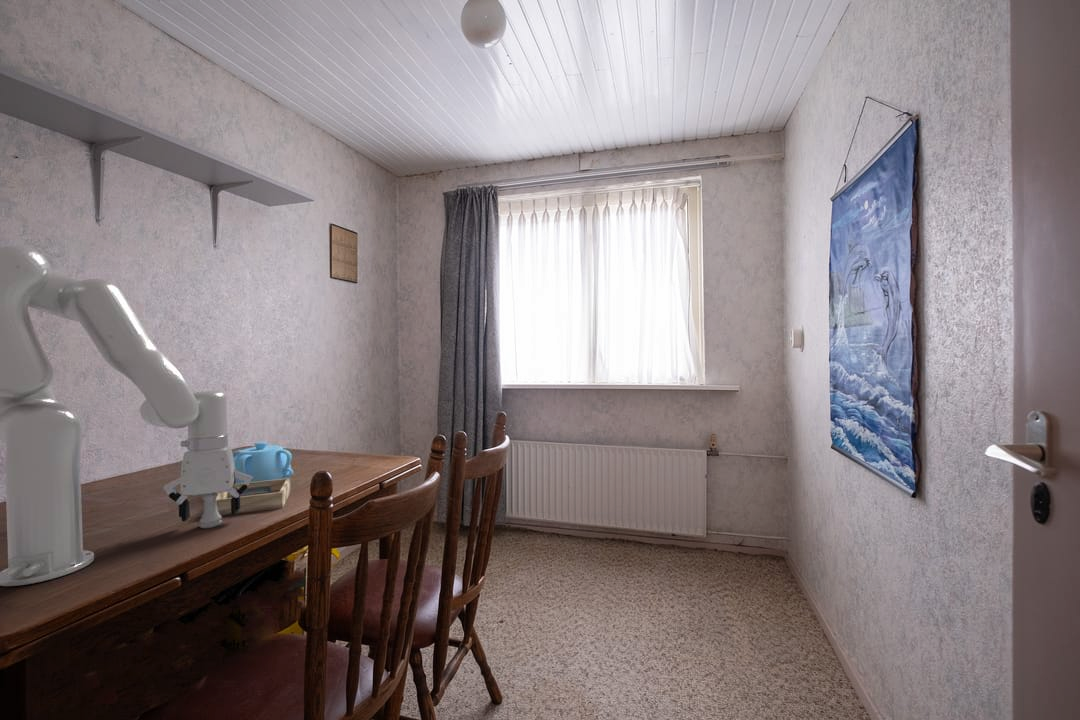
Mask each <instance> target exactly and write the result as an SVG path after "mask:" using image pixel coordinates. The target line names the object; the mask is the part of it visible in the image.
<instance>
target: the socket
mask: <svg viewBox="0 0 1080 720" xmlns="http://www.w3.org/2000/svg"><path fill="white" fill-rule="evenodd" d="M268 493H272V490H271V485H265V486H256V487H248V488H247V489H246V490H245V491H244V492H243V493H242V494H241V495H240V497H242V496H250V495H259V494H268Z"/></svg>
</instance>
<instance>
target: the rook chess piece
mask: <svg viewBox="0 0 1080 720" xmlns="http://www.w3.org/2000/svg"><path fill="white" fill-rule="evenodd" d="M217 496H218V493H213V494H204V495H201V499H202V500H203V502H202V504H203V511H202V515H201V517H200V519H199V521H198V522H199V525H198V526H199V527H200V528H201V529H212V528H215V527H218V526H220V525H221V524H222V523H223V520H222V518H223V516H221V515H219V513H218V510H217V504H216V502H217V500H216V497H217Z"/></svg>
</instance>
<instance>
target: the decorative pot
mask: <svg viewBox="0 0 1080 720" xmlns="http://www.w3.org/2000/svg"><path fill="white" fill-rule="evenodd" d="M232 453H233V458H234V464H235V470H236V471H239V472H242V473H245V474H248V475H251V476H252V477H253V478H252V480H251V482H257V481H267V480H276V479H285V478H291V477H292V476H293V475H294V470H293V469H292V467H291V466H292V465H291V462H292V460H293V459H292V458H293V455H292V453H291V451H289V450H287V449H284V448H283V447H282V446H281V445H277V444H276V445H275V444H274V445H268V441H257V442H255V443H254V446H253V447H248V448H245V449H239V450H236V451H234V452H232ZM239 483H244V480H242V479H238V478H236V484H239Z"/></svg>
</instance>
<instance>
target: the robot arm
mask: <svg viewBox="0 0 1080 720" xmlns="http://www.w3.org/2000/svg"><path fill="white" fill-rule="evenodd" d="M29 308H31V309H35V310H38V311H41V312H44V313H46V314H49V315H52V316H56V317H59V318H62V319H66V320H70V321H74V322H79V323H80V325H81V327H82V328H83V329H84V330H85V331H86V334H87V335H88V337H89V338H90V340H91V341H92V342H93V344H94V346H95V348H96V349H97V350H98V352H99V354H100V355H101V356H102V359H104V361H105V362H106V363H108V364H109V366H111V367H112V368H113V369H114V370H116V371H117V372H119V373H120V374H122V375H124V376H125V377H126V378H128V379H129V380H130V381H131V382H132V383H133V384H134V385H135V386H136V387H137V388H138V390H139V391H140V392H141V393H142V394H143V396H144V397H145V398H146V399H145V400H144V401H143V402H142V404H141V405H140V409H139V413H140V417H141V418H142V419H143V421H144V422H146V423H147V424H149V425H151V426H154V427H160V428H166V429H175V430H176V429H177V430H179V429H183V428H186V427H187V438H186V440H181V441H180V447H182V448H183V447H184V448H187V451H185V452H183V456H182V461H181V467H180V468H181V470H180V477H178V478H177V479H175V480H172V481H170V482H169V483H167V484H165V485H164V486H163V487H162V488H163V490H164V492H165V493H166V494H167V496H168V498H170V500H172V501H173V502H175V503H176V505H178V517H179V518H181V522H182V523H183V522H186V521H187V520H188V519H189V518H190V516H191V514H190V513H191V511H190V510H191V509H190V508H191V507H190V501H189V500H188V498H189V497H193V496H195V497H196V496H202V495H204V494H213V493H221V492H226V491H228V492H229V493H230V494H231V495H232V498H231V515H232V516H235V515H237V514H236V513H237V512H238V510H240V495H241V494H242V493H243V492H244V491H245V490H246V489H247V488H248V486H249V484H250V482H251V480H252V478H253V477H252V476H251V475H248V474H245V473H242V472H239V471H236V470H235V464H234V458H233V453H234V452H233V450H232V447H231V446H229V445H228V442H229V441H228V439H229V438H228V414H227V413H228V412H227V409H228V407H227V405H228V404H227V396H226V393H225V392H224V391H220V390H207V391H195V392H193V390H191V388H190V385H188V382H187V381H186V380H185V378H184V377H183V375H182V374H181V372H180V371H179V370H178V369H177V368H176V366H175V365H174V364H173V363H172V362H171V360H170V359H168V357H167V356H166V355H165V353H163V352H162V351H161V350H160V349H159V348H158V346H157V345H156V344H155V342H154V341H153V339H152V338H151V337H150V335H149V333H148V332H147V330H146V329H145V327H144V325H143V324H142V322H141V320H140V318H139V317H138V315H137V313H136V312H135V310H134V308H133V307H132V306H131V304H130V303H129V301H128V299H127V298H126V295H124V293H123V292H122V290H121V289H120V288H119V287H118V286H117V285H116V284H115V283H113V282H111V281H109V280H105V279H102V278H101V279H100V278H88V279H83V280H80V279H76V278H74V277H71V276H67V275H65V274H63V273H60V272H58V271H54V270H52V267H51V265H50V262H49V261H48V260H47V258H46V257H45V256H44V255H43V254H42V253H40V252H38V251H37V250H35V249H33V248H31V247H27V246H24V245H19V244H17V245H16V244H11V245H2V246H0V440H1V441H2V442H4V443H5V468H4V469H5V470H4V479H5V480H4V482H5V485H4V486H5V487H4V488H5V502H6V503H5V506H6V532H7V536H6V537H7V560H8V564H7V565H8V567H7V568H5V569H3V570H2V571H0V587H1V586H2V587H16V586H18V587H19V586H25V585H26V586H27V585H31V584H36V583H41V582H45V581H49V580H54V579H57V578H60V577H62V576H66V575H68V574H71V573H74V572H76V571H79V570H81V569H83V568H85V567H87V566H88V565H90V564H91V563H93V561H94V560H95V553H94V552H93V551H91V550H84V549H83V548H84V545H83V544H84V543H83V517H82V515H83V511H82V509H83V508H82V483H81V451H82V450H81V449H82V443H83V441H82V440H83V426H82V422H81V419H80V417H79V416H78V415H77V413H76V412H75V411H74V410H73V409H71V408H70V407H68V406H66V405H65V404H62V403H59V401H58V400H57V397H56V395H55V393H54V390H53V388H52V386H51V383H52V381H53V378H54V368H53V366H52V363H51V361H50V360H49V357H48V356H47V354H46V352H45V350H44V348H43V345H42V344H41V342H40V339H39V337H38V335H37V333H36V331H35V328H34V327H35V326H34V325H33V322H32V320H31V316H30V314H29ZM236 478H238V479H242V480H244V483H243V485H242V486H241V487H240V488H238V487H237V486H235V484H236ZM178 485H179V486H180V487H179V488H180V493H179V492H178V491H176V489H175V487H177V486H178Z"/></svg>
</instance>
